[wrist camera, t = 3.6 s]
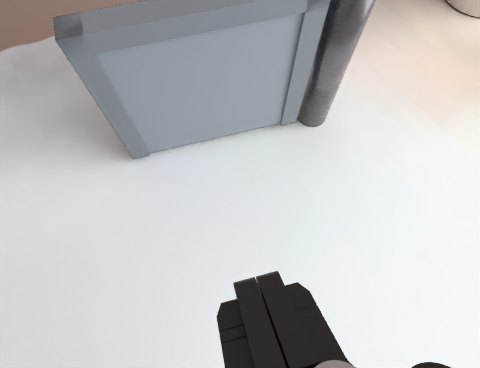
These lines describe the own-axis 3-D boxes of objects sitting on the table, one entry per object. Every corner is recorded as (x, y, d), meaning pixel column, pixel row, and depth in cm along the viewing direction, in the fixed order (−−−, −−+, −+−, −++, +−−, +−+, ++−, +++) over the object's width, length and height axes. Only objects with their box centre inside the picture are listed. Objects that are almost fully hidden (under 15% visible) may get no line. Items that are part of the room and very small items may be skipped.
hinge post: (320, 100, 39) (382, -69, 22) (329, 123, 38) (402, -36, 21) (294, 106, 38) (336, -61, 22) (302, 129, 37) (354, -27, 21)
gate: (290, 108, 37) (324, -34, 22) (295, 122, 37) (334, -14, 22) (130, 143, 36) (53, 17, 21) (133, 159, 35) (55, 40, 20)
